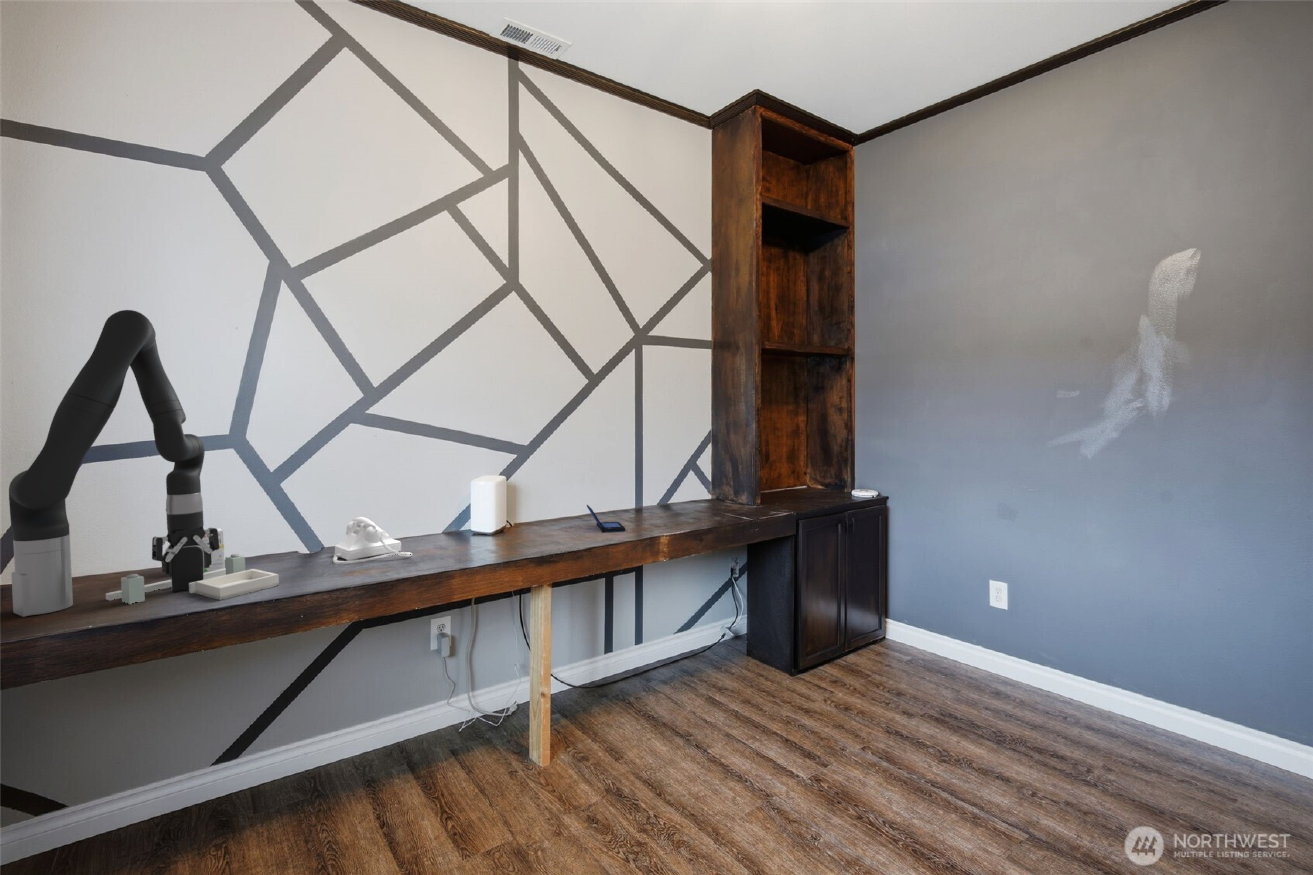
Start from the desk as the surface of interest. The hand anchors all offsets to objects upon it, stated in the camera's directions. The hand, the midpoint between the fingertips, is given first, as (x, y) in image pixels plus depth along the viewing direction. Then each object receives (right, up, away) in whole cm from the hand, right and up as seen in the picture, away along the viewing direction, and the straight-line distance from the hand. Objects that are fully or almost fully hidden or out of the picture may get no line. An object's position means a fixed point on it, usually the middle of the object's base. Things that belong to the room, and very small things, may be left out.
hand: (187, 571), depth 156 cm
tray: (+14, -5, -1) cm, 14 cm away
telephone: (+30, -4, +35) cm, 46 cm away
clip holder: (-1, -4, 0) cm, 5 cm away
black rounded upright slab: (0, -5, 0) cm, 5 cm away
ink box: (-9, -4, +18) cm, 21 cm away
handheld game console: (+103, -1, +79) cm, 130 cm away
